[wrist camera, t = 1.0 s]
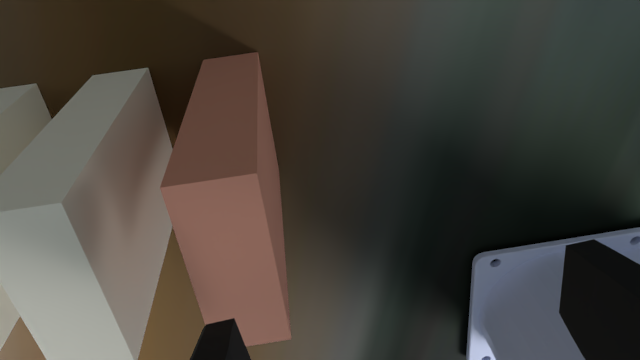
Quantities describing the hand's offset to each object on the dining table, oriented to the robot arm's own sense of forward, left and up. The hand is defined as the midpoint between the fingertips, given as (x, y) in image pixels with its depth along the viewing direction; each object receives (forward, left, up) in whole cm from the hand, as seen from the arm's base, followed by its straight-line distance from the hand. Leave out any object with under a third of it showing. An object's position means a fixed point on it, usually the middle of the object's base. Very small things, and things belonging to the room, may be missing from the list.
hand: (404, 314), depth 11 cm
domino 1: (+4, -1, -10) cm, 11 cm away
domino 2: (+8, -1, -10) cm, 13 cm away
